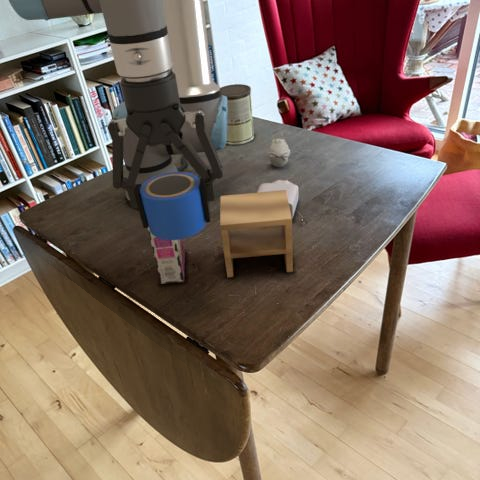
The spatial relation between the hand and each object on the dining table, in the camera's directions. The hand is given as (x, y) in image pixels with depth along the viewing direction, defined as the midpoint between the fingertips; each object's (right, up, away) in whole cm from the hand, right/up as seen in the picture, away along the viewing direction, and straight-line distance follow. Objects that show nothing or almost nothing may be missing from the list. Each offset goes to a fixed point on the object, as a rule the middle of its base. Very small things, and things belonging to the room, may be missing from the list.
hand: (177, 221), depth 76 cm
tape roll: (0, 0, 0) cm, 1 cm away
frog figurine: (+21, +26, +49) cm, 60 cm away
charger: (+20, +11, +34) cm, 41 cm away
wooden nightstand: (+14, -4, +19) cm, 24 cm away
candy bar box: (-3, -6, +19) cm, 20 cm away
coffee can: (+10, +40, +66) cm, 78 cm away
